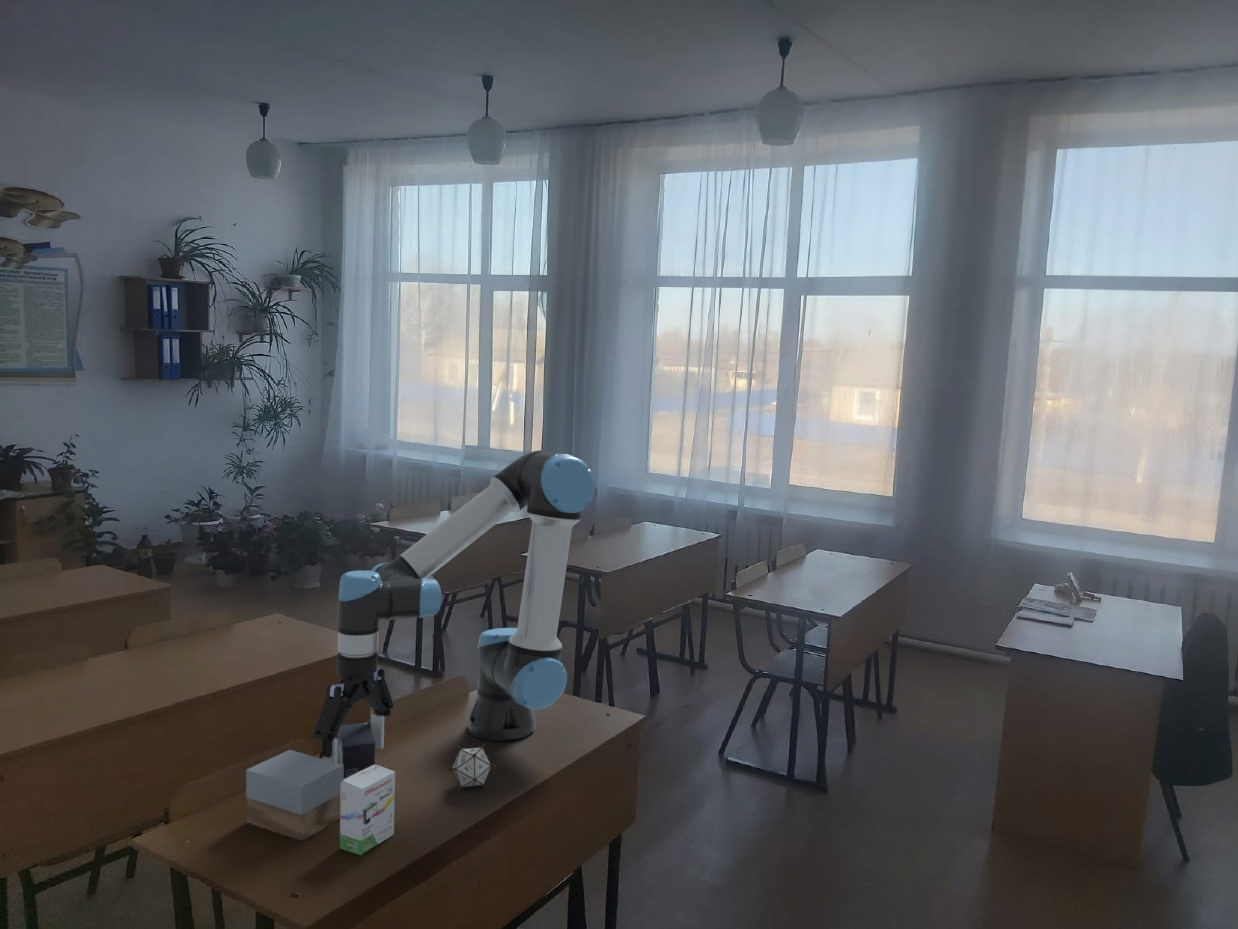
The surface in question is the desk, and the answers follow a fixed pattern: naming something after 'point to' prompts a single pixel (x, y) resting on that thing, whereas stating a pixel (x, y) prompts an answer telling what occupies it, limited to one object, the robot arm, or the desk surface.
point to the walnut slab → (293, 818)
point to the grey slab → (294, 781)
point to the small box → (356, 747)
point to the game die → (471, 767)
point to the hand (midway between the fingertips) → (354, 759)
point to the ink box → (367, 809)
